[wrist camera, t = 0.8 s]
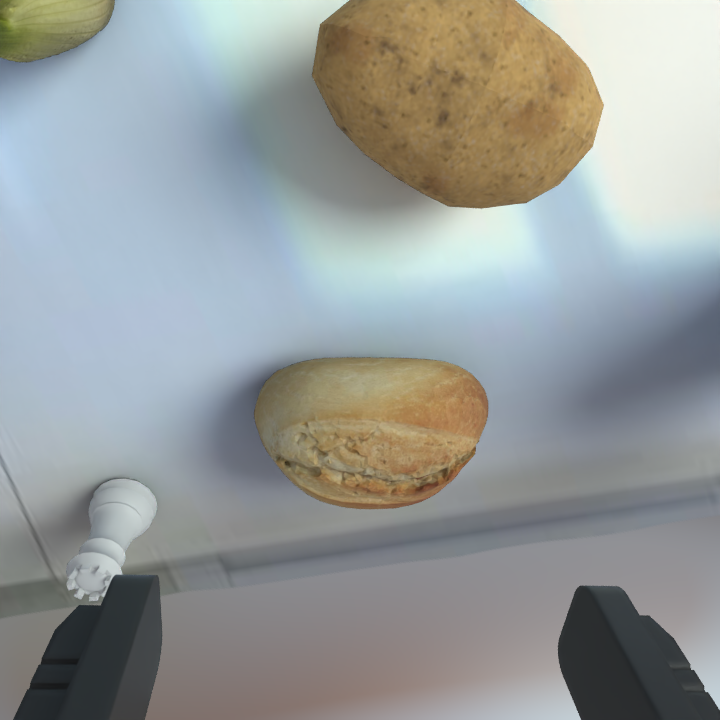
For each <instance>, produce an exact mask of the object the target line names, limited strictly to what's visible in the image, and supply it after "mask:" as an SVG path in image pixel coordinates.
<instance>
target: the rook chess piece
mask: <svg viewBox="0 0 720 720" xmlns="http://www.w3.org/2000/svg"><path fill="white" fill-rule="evenodd" d="M157 508H158V507H157V502H156V498H155V496H154V495H153V494H152V492H151V491H150V490H149V488H148V487H147V486H145V485H143V484H142V483H140V482H138V481H136V480H131V479H127V478H126V479H113V480H110V481H108V482H106V483H103V484H101V485H100V486H99V488H98V489H97V490H96V491H95V492H94V495H93V499H92V500H91V502H90V507H89V512H88V515H89V518H90V524H91V527H92V528H91V532H90V535H89V538H88V540H87V541H86V542H85V543H84V544H83V545H82V546H81V547H80V550H79V555H77V556H75V557H73V558H72V559H71V560H70V562H69V563H68V564H67V569H66V573H67V577H68V582H67V587H68V590H71V589H73V588H75V589H76V592H75V594H74V596H75V597H77V598H79V599H81V598H82V597H83V595H84V594H88V595H90V597H89V601H98V599H99V596H100V595H102V596H103V597H105V594H106V592H107V589H108V587H109V584H110V582H111V580H112V578H113V577H114V575H122V571H121V568H120V567H121V566H122V565H123V564H124V561H125V558H126V557H125V551H126V549H127V548H128V546H129V544H130V543H131V541H132V540H134V539H136V538H137V537H138V536H140V535H142V534H143V533H144V531H145V530H146V529H147V528H148V527H149V526H150V525H151V523H152V519H153V518H154V517H155V515H156V511H157Z"/></svg>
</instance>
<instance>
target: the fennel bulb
mask: <svg viewBox="0 0 720 720" xmlns="http://www.w3.org/2000/svg"><path fill="white" fill-rule="evenodd" d="M114 3H115V0H0V58H3V59H7V60H10V61H11V60H12V61H15V62H31V61H35V60H38V59H44V58H46V57H51V56H52V55H58V54H60V53H62V52H65V51H68V50H70V49H73V48H75V47H77V46H78V45H80V44H82V43H84V42H86V41H87V40H89V39H90V38H92V37H93V36H94V35H96V34H97V33H98V32H99V31H101V30H102V29H104V27H105V26H106V25H107V24H108V22H109V20H110V18H111V15H112V12H113V9H114Z"/></svg>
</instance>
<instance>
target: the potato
mask: <svg viewBox="0 0 720 720" xmlns="http://www.w3.org/2000/svg"><path fill="white" fill-rule="evenodd" d="M312 77H313V79H314V81H315V83H316V85H317V87H318V89H319V91H320V93H321V95H322V97H323V99H324V101H325V103H326V105H327V107H328V109H329V111H330V113H331V115H332V117H333V119H334V121H335V123H336V125H337V126H338V127H339V128H340V129H341V130H342V131H343V132H344V133H345V134H346V135H347V136H348V137H349V138H350V139H351V140H352V141H353V142H354V144H355V145H356V146H357V147H358V148H359V149H360V150H361V151H362V152H363V153H364V154H365V155H367V156H368V157H370V158H371V159H372V160H374V161H375V162H376V163H378V164H379V165H380V166H382V167H383V168H384V169H386V170H387V171H388V172H390V173H391V174H392V175H394V176H395V177H396V178H398V179H399V180H401V181H403V182H404V183H406V184H408V185H409V186H411V187H413V188H414V189H416V190H417V191H419V192H421V193H423V194H425V195H427V196H429V197H431V198H433V199H435V200H437V201H439V202H441V203H443V204H445V205H447V206H449V207H466V208H489V207H496V206H504V205H512V204H521V203H527V202H529V201H530V200H532V199H534V198H536V197H538V196H539V195H541V194H543V193H545V192H547V191H548V190H550V189H552V188H554V187H555V186H557V185H559V184H560V183H561V182H562V181H563V180H564V179H565V177H566V176H567V175H568V174H569V173H570V172H571V171H572V169H573V168H574V167H575V166H576V165H577V164H578V163H579V161H580V160H581V159H582V158H583V157H584V156H585V154H586V153H587V152H588V151H589V150H590V149H591V148H592V146H593V143H594V139H595V136H596V132H597V128H598V125H599V121H600V117H601V114H602V110H603V106H604V105H603V102H602V100H601V97H600V95H599V92H598V90H597V87H596V85H595V82H594V80H593V77H592V75H591V72H590V70H589V68H588V67H587V65H586V64H585V63H584V61H583V60H582V59H581V58H580V57H579V56H578V55H577V54H576V53H575V52H574V51H573V50H572V49H571V48H570V47H569V46H568V45H567V44H566V42H565V41H564V40H563V39H562V38H561V37H560V36H559V35H558V34H556V33H555V32H554V31H552V30H551V29H550V28H549V27H547V26H546V25H545V24H543V23H542V22H541V21H540V20H538V19H537V18H536V17H534V16H533V15H532V14H531V13H529V12H528V11H527V10H526V9H525V8H524V7H522V6H521V5H520V4H519V3H518V2H517V1H515V0H349V1H348V2H347V3H346V4H345V5H343V6H342V7H341V8H340V9H338V10H337V11H336V12H335V13H334V14H332V15H331V16H330V17H329V18H327V19H326V20H325V21H324V22H322V23H321V24H320V28H319V34H318V40H317V47H316V53H315V60H314V66H313V72H312Z"/></svg>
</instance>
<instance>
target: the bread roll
mask: <svg viewBox="0 0 720 720" xmlns="http://www.w3.org/2000/svg"><path fill="white" fill-rule="evenodd" d="M487 416H488V400H487V396H486V393H485V390H484V388H483V387H482V385H481V384H480V383H479V381H478V380H477V379H476V378H475V377H474V376H473V375H472V374H471V373H469V372H468V371H466V370H464V369H463V368H461V367H459V366H456V365H454V364H451V363H448V362H444V361H437V360H428V359H412V358H370V357H367V358H321V359H313V360H308V361H303V362H299V363H296V364H293V365H290V366H288V367H285V368H283V369H281V370H278V371H277V372H275V373H274V374H273V375H272V376H271V377H270V378H269V379H268V380H266V382H265V384H264V385H263V387H262V389H261V391H260V393H259V396H258V399H257V402H256V406H255V410H254V418H255V423H256V426H257V429H258V432H259V435H260V438H261V441H262V443H263V445H264V447H265V449H266V451H267V452H268V454H269V455H270V457H271V458H272V459H273V461H274V462H275V463H276V464H277V466H278V467H279V468H280V469H281V471H282V472H283V473H284V474H285V475H286V477H287V478H288V479H289V480H290V481H291V482H292V483H293V484H295V485H296V486H297V487H298V488H300V489H301V490H302V491H303V492H305V493H306V494H308V495H309V496H311V497H313V498H315V499H317V500H319V501H322V502H325V503H328V504H332V505H337V506H341V507H347V508H356V509H387V508H399V507H403V506H408V505H412V504H415V503H419V502H422V501H424V500H426V499H428V498H430V497H431V496H433V495H435V494H436V493H438V492H439V491H440V490H441V489H443V488H444V487H445V486H446V485H447V484H448V483H450V482H451V481H452V480H453V479H454V478H455V477H456V476H457V474H458V473H459V472H460V470H461V469H462V468H463V467H464V466H465V465H466V464H467V463H468V461H469V460H470V459H471V458H472V457H473V456H474V454H475V451H476V443H478V442H479V438H480V436H481V434H482V431H483V429H484V427H485V424H486V421H487Z"/></svg>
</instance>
